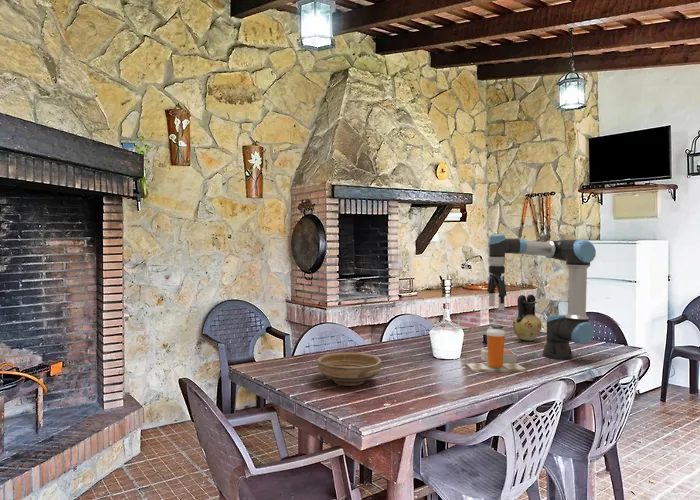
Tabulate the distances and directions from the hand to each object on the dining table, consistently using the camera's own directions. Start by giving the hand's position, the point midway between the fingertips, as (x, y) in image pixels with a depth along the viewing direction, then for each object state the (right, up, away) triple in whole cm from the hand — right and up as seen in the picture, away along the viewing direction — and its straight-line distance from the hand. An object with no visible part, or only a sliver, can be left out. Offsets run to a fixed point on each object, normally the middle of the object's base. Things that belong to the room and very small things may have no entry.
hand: (496, 308), depth 248 cm
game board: (0, -30, +1) cm, 30 cm away
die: (+1, -30, +19) cm, 35 cm away
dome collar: (+10, -30, +17) cm, 36 cm away
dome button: (+10, -30, +17) cm, 36 cm away
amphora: (+39, -30, +67) cm, 83 cm away
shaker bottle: (0, -29, 0) cm, 29 cm away
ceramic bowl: (-73, -30, -25) cm, 83 cm away
